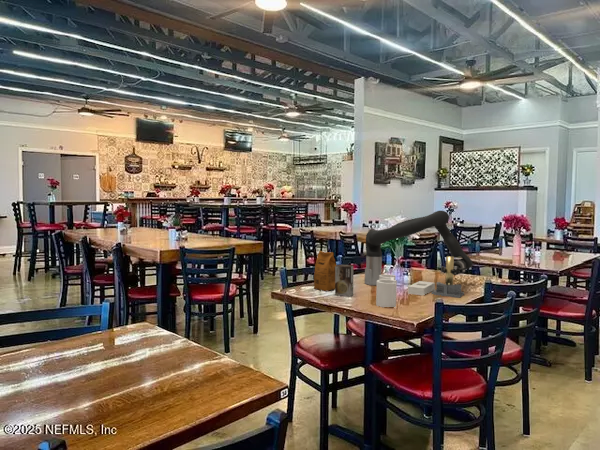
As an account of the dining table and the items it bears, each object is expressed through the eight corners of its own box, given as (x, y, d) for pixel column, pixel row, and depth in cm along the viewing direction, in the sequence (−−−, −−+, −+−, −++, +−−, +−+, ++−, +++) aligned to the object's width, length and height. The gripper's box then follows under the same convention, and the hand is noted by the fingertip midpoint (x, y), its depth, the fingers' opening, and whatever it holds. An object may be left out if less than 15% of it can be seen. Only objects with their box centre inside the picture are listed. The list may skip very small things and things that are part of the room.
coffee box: (353, 294, 250) (354, 265, 249) (351, 296, 244) (351, 266, 243) (337, 292, 253) (337, 264, 252) (334, 295, 247) (335, 265, 246)
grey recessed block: (423, 295, 249) (423, 288, 248) (407, 293, 254) (408, 286, 253) (434, 289, 265) (434, 282, 265) (419, 287, 270) (419, 281, 270)
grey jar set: (377, 296, 246) (378, 274, 245) (396, 297, 244) (396, 275, 243) (375, 307, 222) (376, 282, 221) (396, 308, 220) (396, 283, 219)
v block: (459, 297, 244) (459, 286, 243) (431, 294, 252) (431, 283, 252) (463, 294, 252) (464, 283, 252) (436, 291, 260) (437, 280, 260)
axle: (448, 289, 251) (449, 257, 250) (443, 288, 255) (444, 256, 254) (454, 289, 253) (455, 257, 252) (449, 287, 257) (450, 256, 255)
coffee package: (323, 286, 271) (323, 249, 270) (338, 289, 262) (339, 251, 260) (311, 288, 264) (311, 250, 263) (326, 292, 255) (326, 253, 254)
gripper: (444, 260, 269) (435, 263, 255) (469, 262, 261) (461, 266, 247) (443, 272, 269) (435, 277, 255) (468, 275, 262) (461, 279, 247)
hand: (448, 271), depth 251 cm, fingers closed on axle, 4 cm apart
